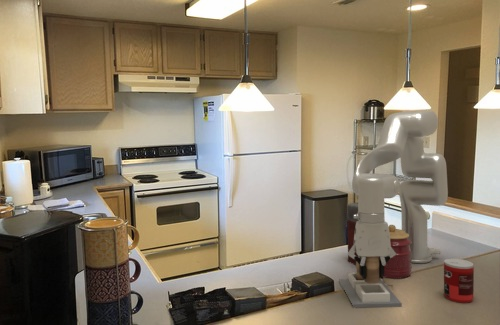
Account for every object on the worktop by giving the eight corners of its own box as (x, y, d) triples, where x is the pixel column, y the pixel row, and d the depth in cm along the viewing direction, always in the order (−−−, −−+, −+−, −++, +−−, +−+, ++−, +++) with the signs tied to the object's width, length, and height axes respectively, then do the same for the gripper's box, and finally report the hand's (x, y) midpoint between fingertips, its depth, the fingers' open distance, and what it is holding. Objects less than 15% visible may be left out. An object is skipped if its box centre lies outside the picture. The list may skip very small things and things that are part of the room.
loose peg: (381, 283, 116) (381, 253, 116) (366, 283, 116) (366, 254, 116) (377, 278, 120) (376, 249, 120) (362, 278, 121) (362, 249, 120)
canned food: (447, 290, 124) (447, 256, 123) (475, 296, 119) (476, 261, 118) (440, 299, 118) (440, 263, 117) (470, 305, 113) (471, 268, 112)
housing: (379, 281, 134) (379, 271, 134) (401, 306, 114) (401, 294, 114) (339, 282, 134) (338, 272, 134) (353, 307, 114) (353, 296, 114)
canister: (387, 281, 134) (387, 230, 132) (366, 269, 146) (366, 222, 145) (419, 276, 137) (419, 226, 136) (396, 265, 150) (396, 219, 148)
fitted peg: (368, 281, 131) (367, 255, 130) (372, 286, 127) (371, 259, 126) (355, 282, 131) (354, 255, 130) (358, 287, 127) (358, 259, 126)
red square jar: (385, 263, 152) (384, 191, 150) (362, 268, 147) (361, 194, 146) (370, 257, 160) (369, 189, 158) (347, 261, 156) (346, 191, 154)
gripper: (346, 221, 114) (346, 282, 115) (404, 219, 113) (404, 281, 114) (340, 215, 121) (341, 273, 122) (395, 214, 121) (395, 272, 122)
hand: (371, 276), depth 118 cm, fingers closed on loose peg, 4 cm apart
